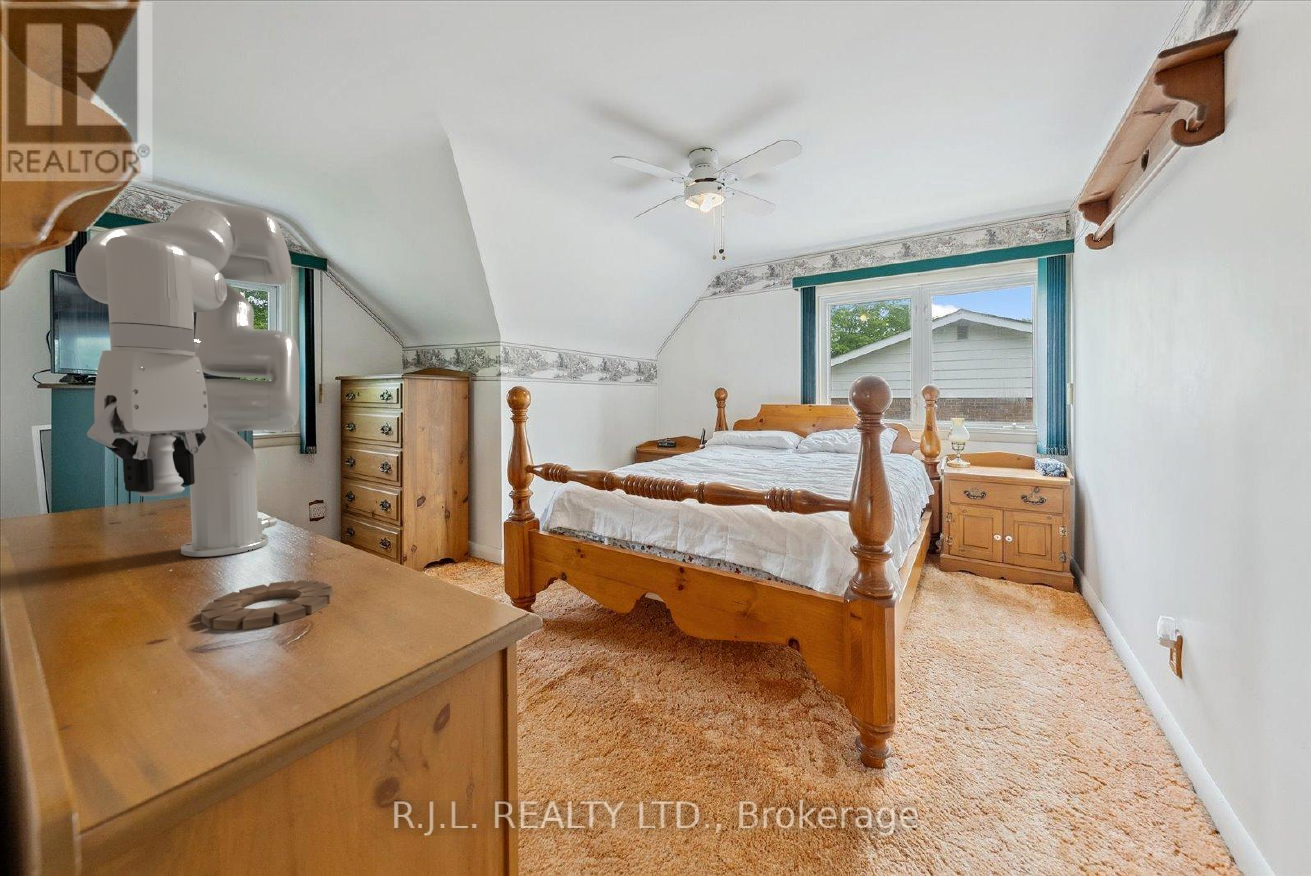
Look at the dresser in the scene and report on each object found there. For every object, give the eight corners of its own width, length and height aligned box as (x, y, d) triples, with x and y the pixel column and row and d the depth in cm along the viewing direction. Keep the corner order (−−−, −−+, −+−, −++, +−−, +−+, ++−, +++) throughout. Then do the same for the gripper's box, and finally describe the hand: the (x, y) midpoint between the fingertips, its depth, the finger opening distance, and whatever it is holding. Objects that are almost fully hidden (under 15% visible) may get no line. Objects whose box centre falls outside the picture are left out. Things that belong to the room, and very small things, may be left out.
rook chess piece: (154, 498, 62) (150, 432, 61) (126, 495, 63) (123, 431, 62) (194, 491, 66) (191, 430, 66) (168, 489, 67) (165, 429, 67)
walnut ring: (266, 586, 77) (265, 578, 77) (353, 590, 76) (353, 582, 76) (172, 626, 63) (171, 617, 63) (277, 632, 62) (277, 623, 62)
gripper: (194, 349, 72) (199, 476, 73) (40, 333, 55) (51, 499, 57) (242, 349, 71) (247, 478, 73) (101, 334, 55) (111, 502, 56)
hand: (161, 486), depth 65 cm, fingers closed on rook chess piece, 4 cm apart
